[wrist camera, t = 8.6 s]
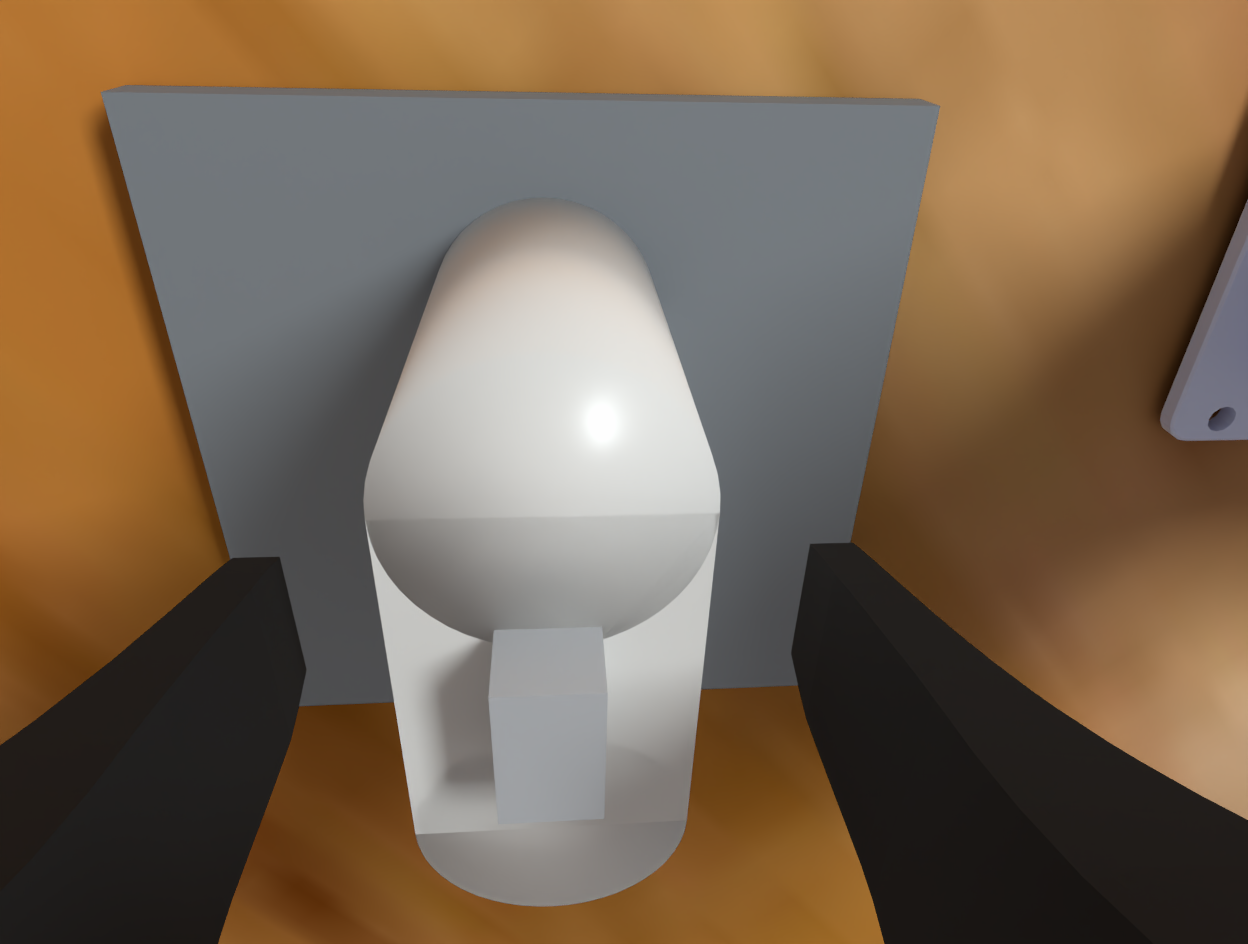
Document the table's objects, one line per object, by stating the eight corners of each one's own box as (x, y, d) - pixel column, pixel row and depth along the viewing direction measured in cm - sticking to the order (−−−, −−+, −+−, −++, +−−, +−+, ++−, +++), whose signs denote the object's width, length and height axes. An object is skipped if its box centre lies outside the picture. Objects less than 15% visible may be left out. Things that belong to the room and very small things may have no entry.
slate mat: (920, 98, 13) (940, 106, 12) (811, 659, 19) (820, 684, 19) (126, 85, 12) (100, 91, 11) (282, 679, 18) (271, 707, 18)
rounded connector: (660, 198, 13) (760, 400, 7) (639, 622, 17) (687, 969, 11) (424, 196, 12) (310, 404, 6) (463, 628, 17) (419, 987, 11)
